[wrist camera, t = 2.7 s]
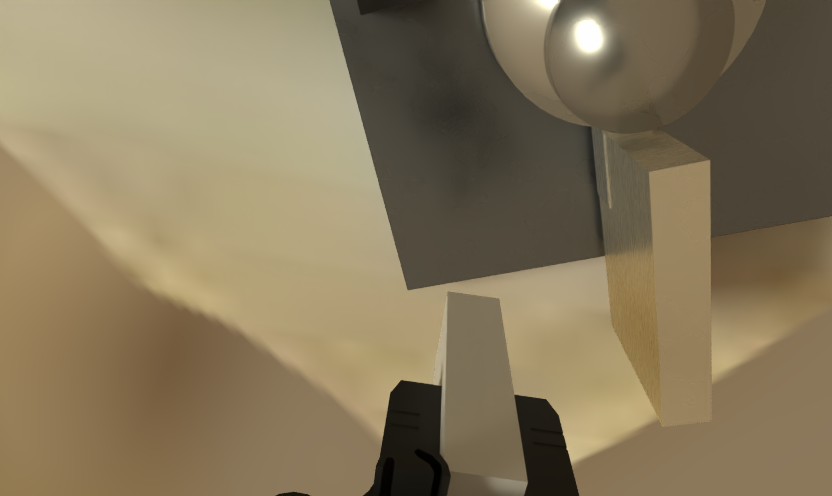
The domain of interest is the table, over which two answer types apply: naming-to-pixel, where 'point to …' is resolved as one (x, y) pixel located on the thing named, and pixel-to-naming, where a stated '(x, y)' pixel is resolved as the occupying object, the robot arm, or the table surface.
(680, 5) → the silver ladle
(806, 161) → the stand
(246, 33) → the table surface
